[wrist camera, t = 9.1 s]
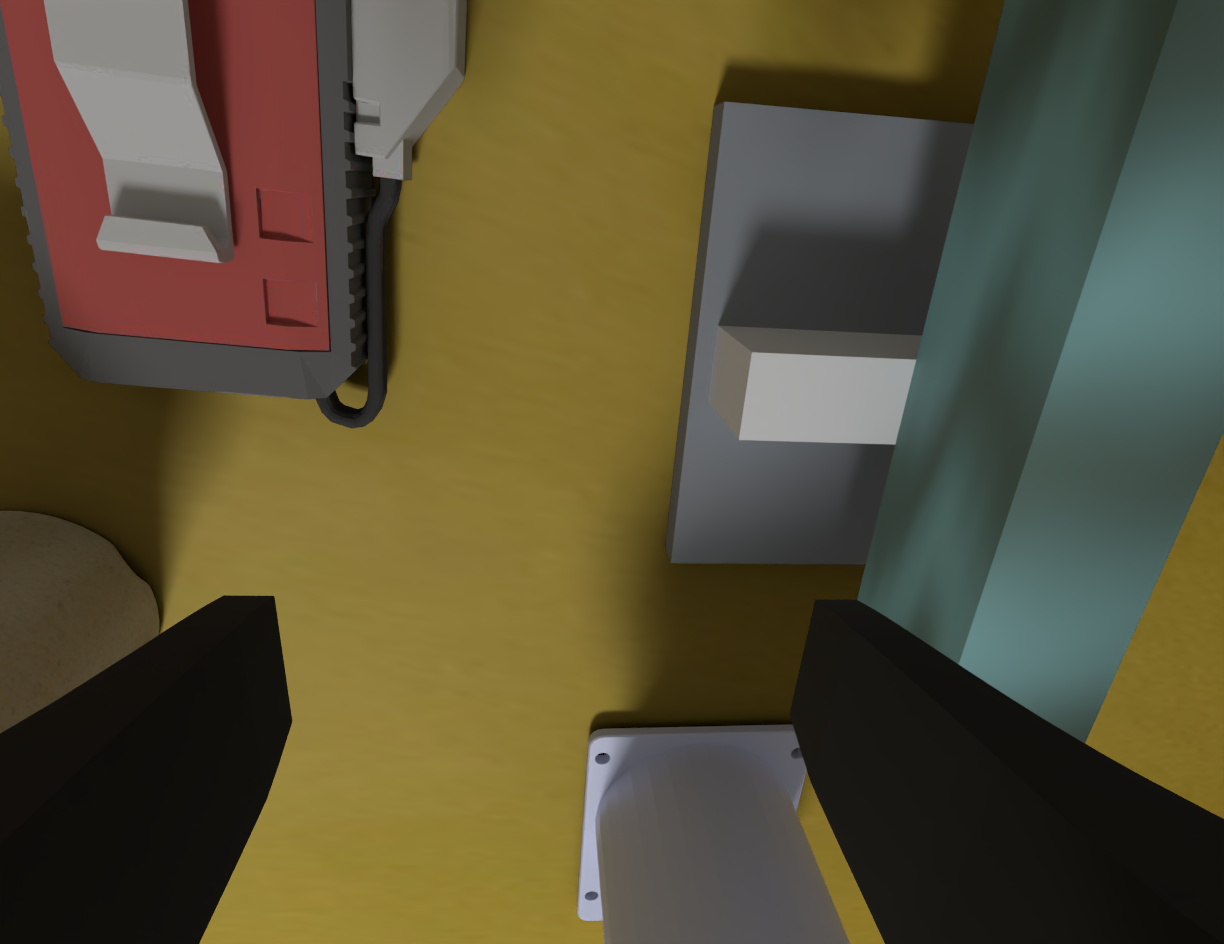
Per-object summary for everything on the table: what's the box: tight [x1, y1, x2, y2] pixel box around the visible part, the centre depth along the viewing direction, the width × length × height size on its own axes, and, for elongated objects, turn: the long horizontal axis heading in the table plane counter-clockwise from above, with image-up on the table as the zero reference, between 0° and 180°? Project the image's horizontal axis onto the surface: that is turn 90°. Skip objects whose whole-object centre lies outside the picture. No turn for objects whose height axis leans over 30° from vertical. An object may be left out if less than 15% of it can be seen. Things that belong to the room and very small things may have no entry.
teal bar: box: [857, 0, 1224, 743], centre depth 14 cm, size 16×4×4 cm, turn 176°
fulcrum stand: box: [665, 102, 974, 565], centre depth 17 cm, size 12×12×4 cm
